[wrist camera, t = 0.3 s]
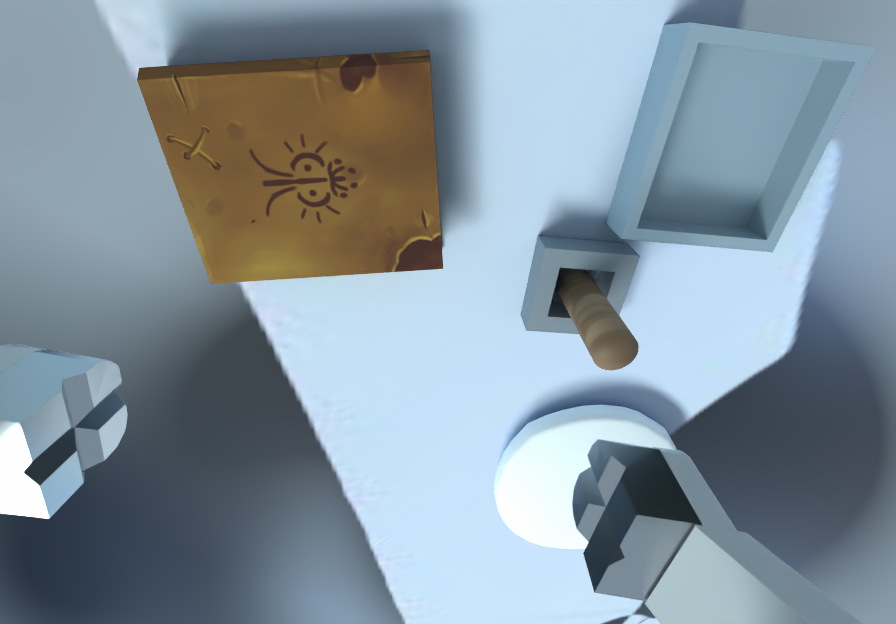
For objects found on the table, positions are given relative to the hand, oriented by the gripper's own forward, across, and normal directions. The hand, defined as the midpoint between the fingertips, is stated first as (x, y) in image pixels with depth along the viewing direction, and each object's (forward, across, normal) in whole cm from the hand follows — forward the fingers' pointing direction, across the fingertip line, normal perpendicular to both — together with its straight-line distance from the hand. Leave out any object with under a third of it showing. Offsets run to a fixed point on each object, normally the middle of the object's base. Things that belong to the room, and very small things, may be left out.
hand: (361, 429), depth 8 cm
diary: (+40, +11, +4) cm, 42 cm away
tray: (+41, -26, -6) cm, 49 cm away
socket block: (+42, -17, +11) cm, 47 cm away
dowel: (+42, -17, +11) cm, 47 cm away
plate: (+45, -29, +41) cm, 67 cm away
